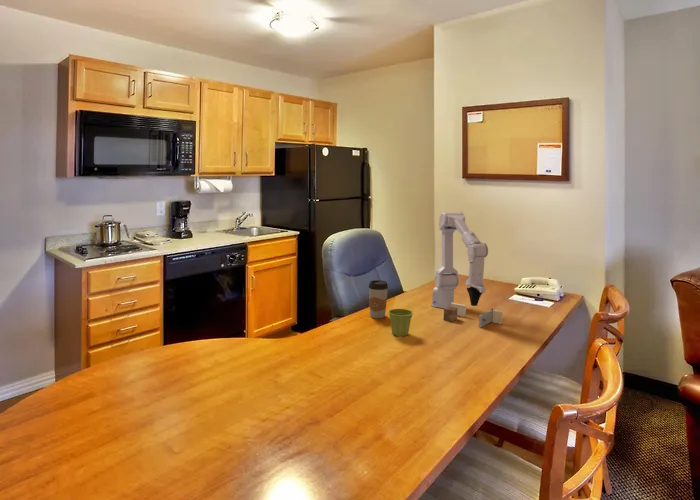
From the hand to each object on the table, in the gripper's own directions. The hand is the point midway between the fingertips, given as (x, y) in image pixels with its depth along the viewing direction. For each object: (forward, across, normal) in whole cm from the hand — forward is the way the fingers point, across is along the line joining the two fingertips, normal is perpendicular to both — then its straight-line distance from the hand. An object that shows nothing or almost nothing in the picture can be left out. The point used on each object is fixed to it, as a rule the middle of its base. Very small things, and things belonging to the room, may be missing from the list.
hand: (474, 305), depth 181 cm
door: (+7, +3, +5) cm, 9 cm away
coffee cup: (+8, -13, -37) cm, 40 cm away
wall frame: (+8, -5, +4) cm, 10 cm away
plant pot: (+8, +10, -33) cm, 36 cm away
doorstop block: (+8, -6, -8) cm, 12 cm away
